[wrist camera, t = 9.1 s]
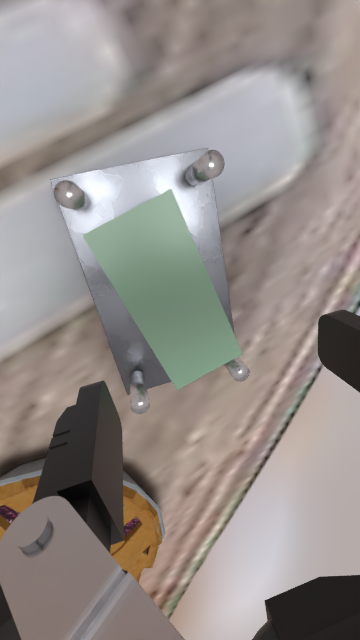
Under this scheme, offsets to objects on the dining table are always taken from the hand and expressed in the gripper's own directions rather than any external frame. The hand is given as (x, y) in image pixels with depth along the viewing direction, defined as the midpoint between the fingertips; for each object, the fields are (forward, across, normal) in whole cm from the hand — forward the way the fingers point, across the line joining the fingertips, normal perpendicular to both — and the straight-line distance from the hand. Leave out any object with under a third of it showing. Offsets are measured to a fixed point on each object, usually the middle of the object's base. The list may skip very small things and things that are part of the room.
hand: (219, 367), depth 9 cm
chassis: (+14, 0, 0) cm, 14 cm away
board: (+13, 0, 0) cm, 13 cm away
